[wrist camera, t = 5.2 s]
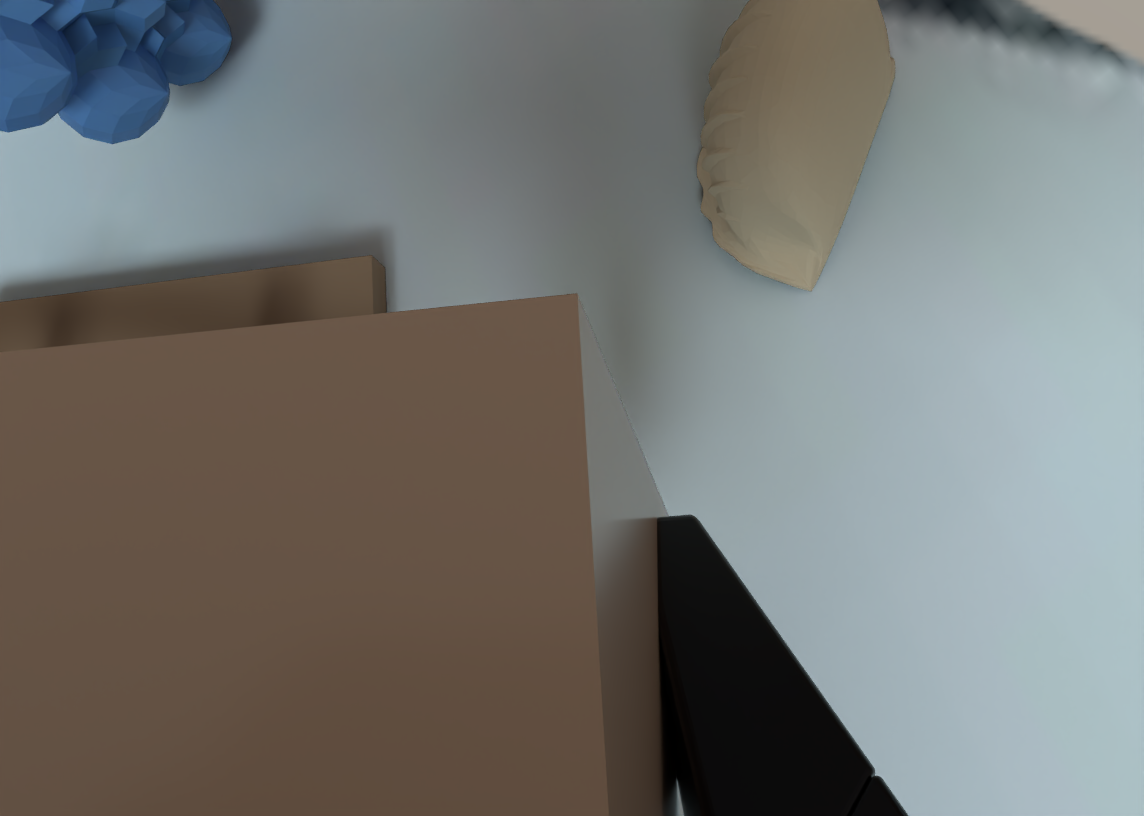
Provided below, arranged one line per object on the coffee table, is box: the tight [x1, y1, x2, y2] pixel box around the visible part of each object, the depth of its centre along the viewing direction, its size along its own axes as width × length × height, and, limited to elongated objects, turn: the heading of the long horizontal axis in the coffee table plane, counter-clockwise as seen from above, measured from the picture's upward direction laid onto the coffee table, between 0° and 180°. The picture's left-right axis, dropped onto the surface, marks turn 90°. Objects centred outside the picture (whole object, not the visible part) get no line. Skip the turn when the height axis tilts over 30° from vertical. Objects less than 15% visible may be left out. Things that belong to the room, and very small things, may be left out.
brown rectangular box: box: [0, 293, 684, 816], centre depth 9 cm, size 3×4×13 cm
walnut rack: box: [0, 255, 386, 352], centre depth 21 cm, size 18×12×4 cm, turn 4°
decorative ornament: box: [697, 0, 895, 291], centre depth 20 cm, size 4×8×5 cm, turn 157°
